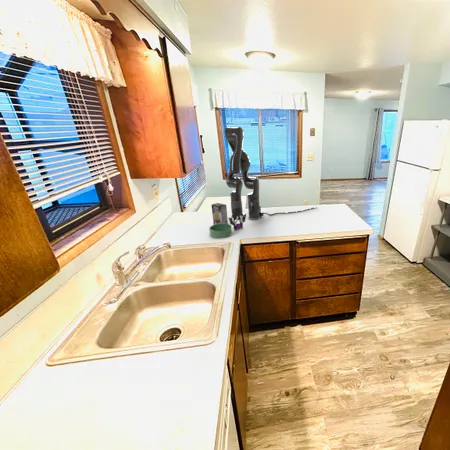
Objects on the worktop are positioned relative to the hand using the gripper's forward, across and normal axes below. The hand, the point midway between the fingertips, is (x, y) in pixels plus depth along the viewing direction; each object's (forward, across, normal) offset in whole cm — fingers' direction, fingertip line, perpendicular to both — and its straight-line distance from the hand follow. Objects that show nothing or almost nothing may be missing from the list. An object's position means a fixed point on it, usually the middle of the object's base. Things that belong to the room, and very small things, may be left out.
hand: (238, 228), depth 173 cm
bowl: (0, -14, 0) cm, 14 cm away
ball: (-2, 0, 0) cm, 2 cm away
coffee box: (0, -4, +17) cm, 17 cm away
